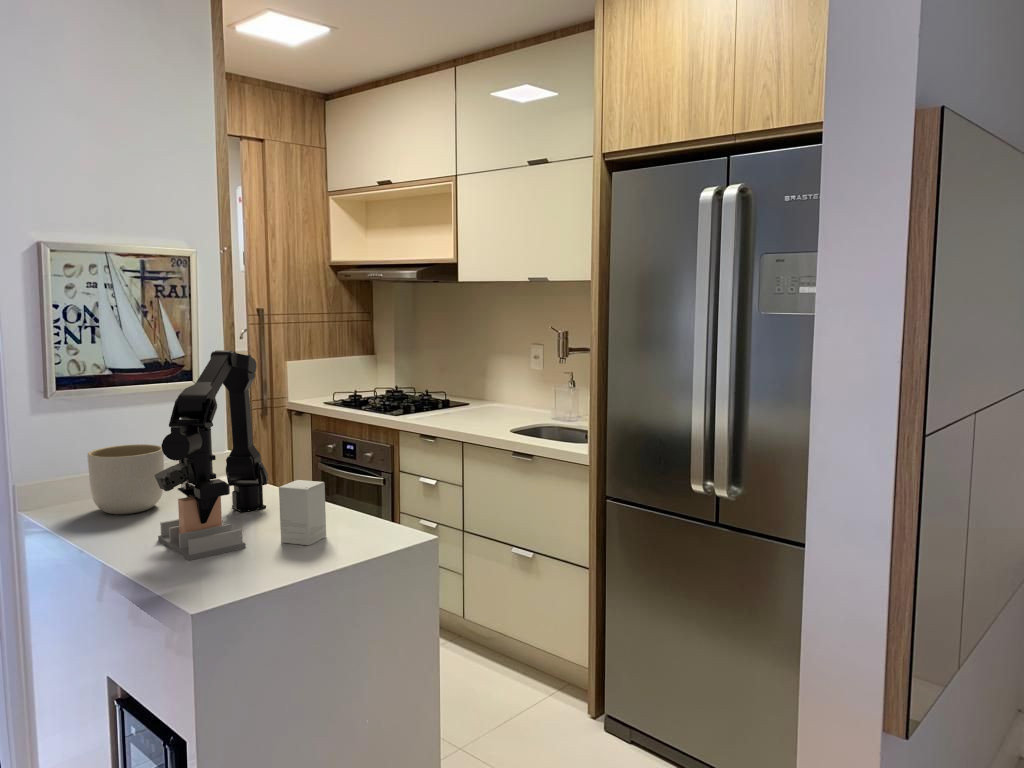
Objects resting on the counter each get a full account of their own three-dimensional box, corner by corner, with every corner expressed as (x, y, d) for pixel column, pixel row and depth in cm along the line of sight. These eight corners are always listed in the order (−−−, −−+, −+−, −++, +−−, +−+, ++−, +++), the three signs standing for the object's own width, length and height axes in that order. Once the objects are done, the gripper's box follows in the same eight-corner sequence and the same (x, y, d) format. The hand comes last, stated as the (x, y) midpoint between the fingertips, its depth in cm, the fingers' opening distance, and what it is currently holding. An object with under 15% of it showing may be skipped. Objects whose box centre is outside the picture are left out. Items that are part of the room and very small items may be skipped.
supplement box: (327, 536, 171) (326, 481, 169) (308, 546, 164) (306, 489, 162) (299, 533, 173) (297, 478, 172) (279, 542, 166) (277, 486, 165)
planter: (171, 512, 190) (168, 452, 188) (94, 522, 180) (91, 460, 179) (159, 497, 204) (157, 441, 202) (87, 506, 194) (84, 448, 193)
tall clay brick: (216, 527, 169) (215, 492, 168) (222, 530, 166) (220, 495, 166) (179, 535, 163) (178, 498, 162) (184, 538, 161) (183, 501, 160)
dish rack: (212, 529, 176) (211, 512, 175) (245, 547, 163) (244, 529, 162) (158, 540, 168) (157, 522, 167) (188, 560, 154) (187, 541, 154)
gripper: (143, 449, 164) (147, 519, 166) (174, 463, 151) (177, 539, 152) (195, 443, 172) (198, 510, 173) (229, 455, 158) (232, 528, 160)
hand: (200, 521), depth 165 cm, fingers closed on tall clay brick, 3 cm apart
